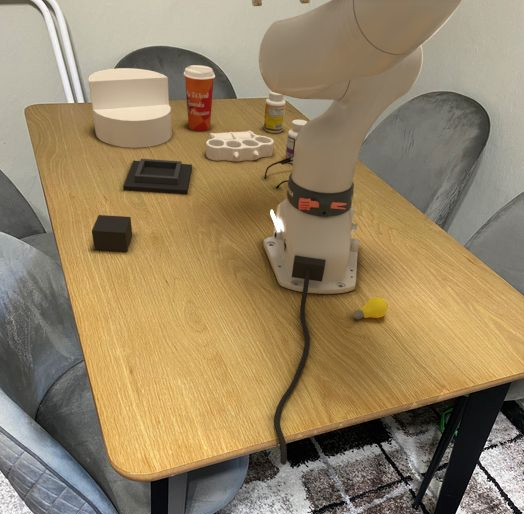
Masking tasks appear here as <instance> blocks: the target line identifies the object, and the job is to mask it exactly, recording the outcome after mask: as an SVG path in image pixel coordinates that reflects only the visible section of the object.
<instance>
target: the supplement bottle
mask: <svg viewBox="0 0 524 514" xmlns="http://www.w3.org/2000/svg"><path fill="white" fill-rule="evenodd" d="M286 105H287V104H286V100H285V99H284V95H282V94H278V93H274V92H272V91H271V90H269V93H268V97H267V98H266V100H265V105H264V106H265V107H264V121H263V129H264V130H265V132H268V133H270V134H279V133H281V132H283V130H284V123H285V114H286V113H285V112H286Z"/></svg>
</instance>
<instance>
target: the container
mask: <svg viewBox="0 0 524 514" xmlns="http://www.w3.org/2000/svg"><path fill="white" fill-rule="evenodd" d="M88 86H89V94H90V101H91V110H92V116H93V123H94V131H95V136H96V138H98V140H100V141H101V142H103V143H105V144H108V145H111V146H115V147H120V148H121V147H122V148H131V149H132V148H134V149H137V148H139V149H140V148H150V147H156V146H160V145H163V144H164V143H166V142H168V141H169V140H170V139H171V138H172V136H173V129H172V127H173V126H172V107H171V105H170V101H169V100H170V99H169V77H168V76H166V75H164V74H163V73H160V72H157V71H155V70H154V71H152V70H150V69H142V68H131V67H118V68H108V69H102V70H97V71H95V72H93V73H91V74H90V75H89V77H88Z"/></svg>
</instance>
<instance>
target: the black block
mask: <svg viewBox="0 0 524 514" xmlns="http://www.w3.org/2000/svg"><path fill="white" fill-rule="evenodd" d="M91 235H92V242H93V249H94V250H95V251H111V252H125V253H126V252H128V251H129V247H130V244H131V241H132V239H133V228H132V217H131V216H122V215H109V214H108V215H105V214H98V215H97V217H96V220H95V222H94V224H93V226H92V229H91Z"/></svg>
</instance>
